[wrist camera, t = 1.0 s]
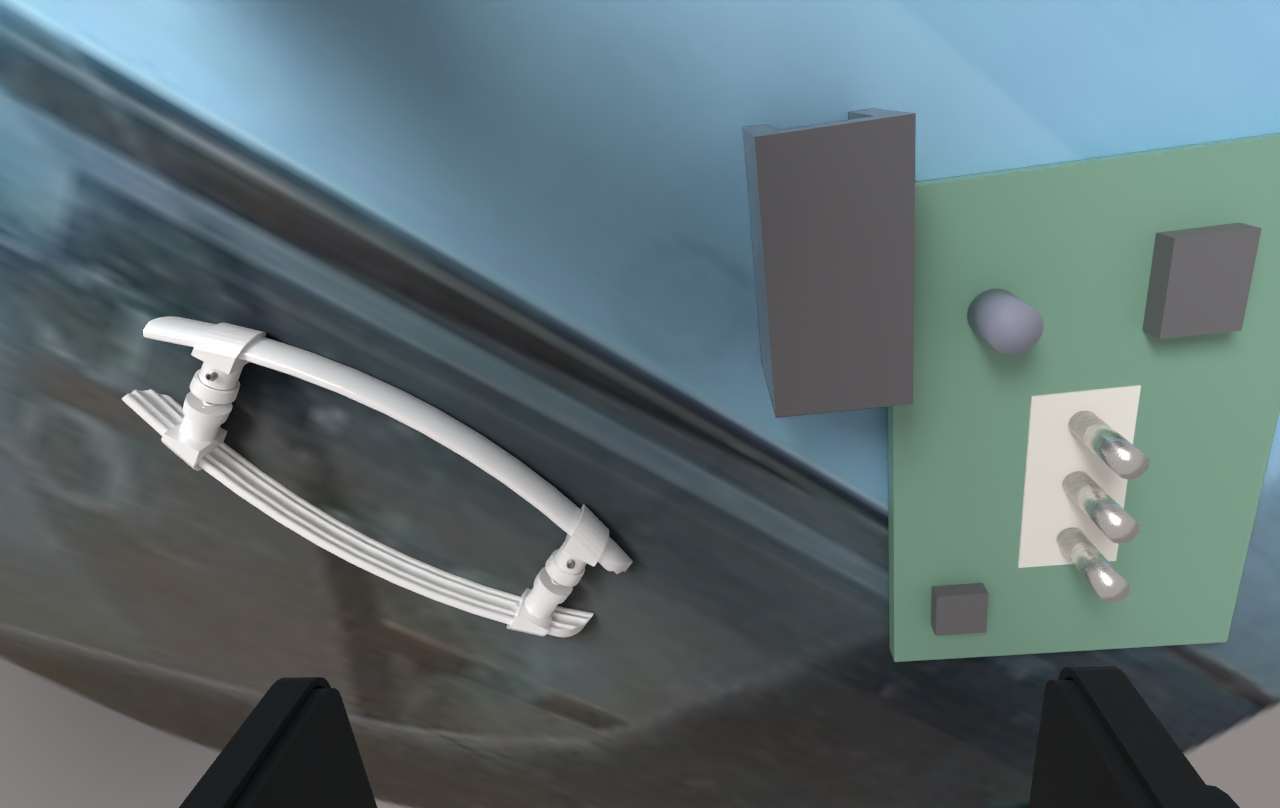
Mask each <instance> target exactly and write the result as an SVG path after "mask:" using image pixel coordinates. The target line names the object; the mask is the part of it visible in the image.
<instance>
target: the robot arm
mask: <svg viewBox="0 0 1280 808" xmlns="http://www.w3.org/2000/svg"><path fill="white" fill-rule="evenodd" d="M179 808H377V806H376V802H375V799H374V796H373V793H372V790H371V787H370V784H369V781H368V778H367V775H366V772H365V769H364V766H363V762H362V759H361V756H360V753H359V750H358V747H357V744H356V741H355V738H354V735H353V732H352V729H351V726H350V722H349V719H348V716H347V713H346V710H345V707H344V704H343V701H342V698H341V695H340V693H339V691H338V690H337V689H335V688H331V687H330V685H329V683H328V681H327V680H326V679H324V678H320V677H310V678H282V679H280V680H277V681H276V682H275V683H274V684H273V685H272V686H271V688H270V689H269V690H268V691H267V693H266V694H265V695H264V697H263V698H262V699H261V701H260V702H259V703H258V705H257V706H256V707H255V709H254V710H253V711H252V712H251V714H250V715H249V716H248V718H247V719H246V720H245V722H244V723H243V724H242V726H241V727H240V728H239V730H238V731H237V732H236V733H235V735H234V736H233V737H232V739H231V740H230V741H229V743H228V744H227V745H226V747H225V748H224V749H223V751H222V752H221V753H220V754H219V756H218V757H217V758H216V760H215V761H214V762H213V764H212V765H211V766H210V768H209V769H208V770H207V772H206V773H205V774H204V775H203V777H202V778H201V779H200V781H199V782H198V783H197V785H196V786H195V787H194V789H193V790H192V791H191V793H190V794H189V795H188V797H187V798H186V799H185V800H184V802H183V803H182V804H181V806H180V807H179ZM1029 808H1240V807H1239V806H1238V805H1237V804H1236V803H1235V802H1234V801H1233V800H1232V799H1231V798H1230V796H1229V795H1228V794H1226V793H1225V792H1223V791H1222V790H1220V789H1219V788H1217V787H1215V786H1209V785H1206V784H1205V783H1204V781H1203V780H1202V779H1201V777H1200V776H1199V775H1198V773H1197V772H1196V771H1195V769H1194V768H1193V767H1192V765H1191V764H1190V762H1189V761H1188V760H1187V758H1186V757H1185V756H1184V754H1183V753H1182V752H1181V750H1180V749H1179V747H1178V746H1177V745H1176V743H1175V742H1174V741H1173V739H1172V738H1171V737H1170V735H1169V734H1168V732H1167V731H1166V730H1165V728H1164V727H1163V726H1162V724H1161V723H1160V722H1159V720H1158V719H1157V718H1156V716H1155V715H1154V713H1153V712H1152V711H1151V709H1150V708H1149V707H1148V705H1147V704H1146V703H1145V701H1144V700H1143V699H1142V697H1141V696H1140V694H1139V693H1138V692H1137V690H1136V689H1135V688H1134V686H1133V685H1132V684H1131V682H1130V681H1129V680H1128V678H1127V677H1126V676H1125V675H1124V673H1123V672H1122V671H1121V670H1119V669H1118V668H1116V667H1067V668H1063V670H1062V671H1061V672H1060V676H1059V680H1049V681H1048V682H1047V684H1046V687H1045V694H1044V701H1043V708H1042V715H1041V723H1040V730H1039V737H1038V744H1037V751H1036V759H1035V766H1034V773H1033V780H1032V787H1031V795H1030V802H1029Z"/></svg>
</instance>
